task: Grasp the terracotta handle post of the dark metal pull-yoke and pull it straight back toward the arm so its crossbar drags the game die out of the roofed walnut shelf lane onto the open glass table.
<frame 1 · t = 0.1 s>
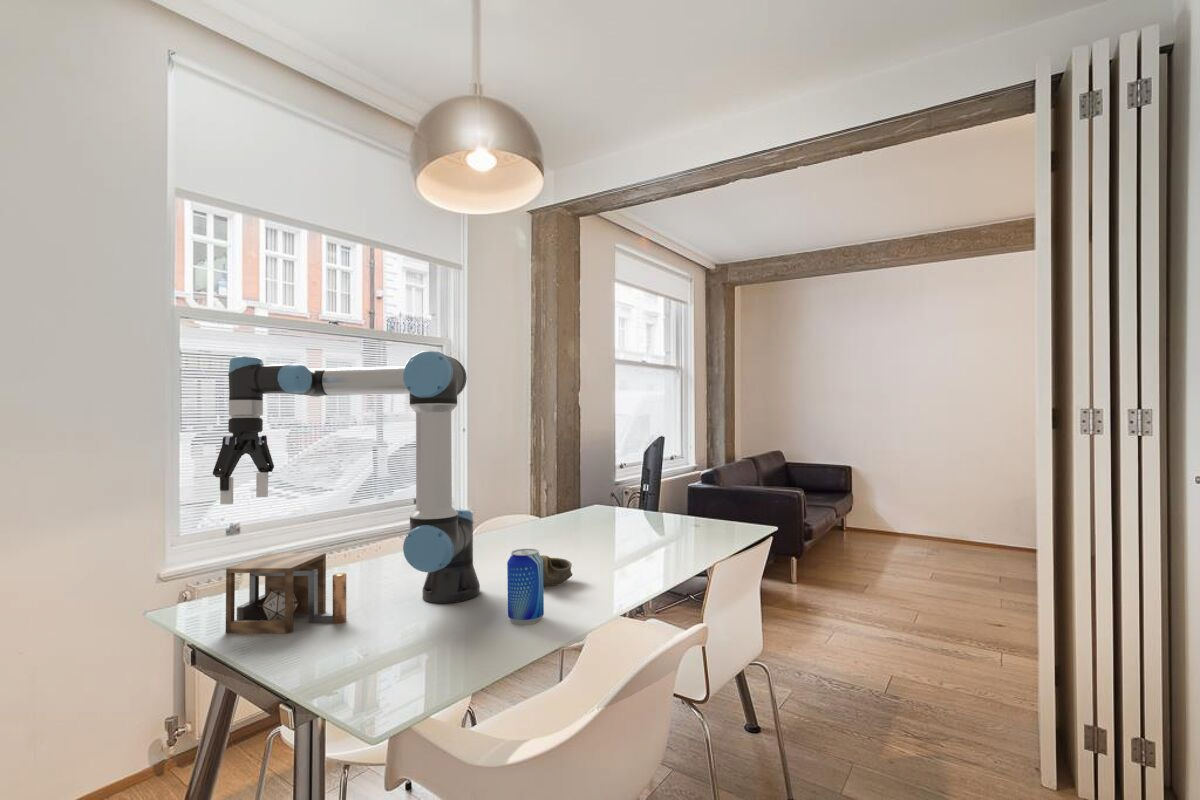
hand: (245, 500, 148), 28 cm above the table, fingers open, 13 cm apart
brown rounded hollow piece: (547, 586, 166), on the table
beer can: (525, 620, 137), on the table
shelf lane: (278, 621, 139), on the table
pull yoke: (339, 621, 138), on the table
game die: (280, 622, 139), on the table
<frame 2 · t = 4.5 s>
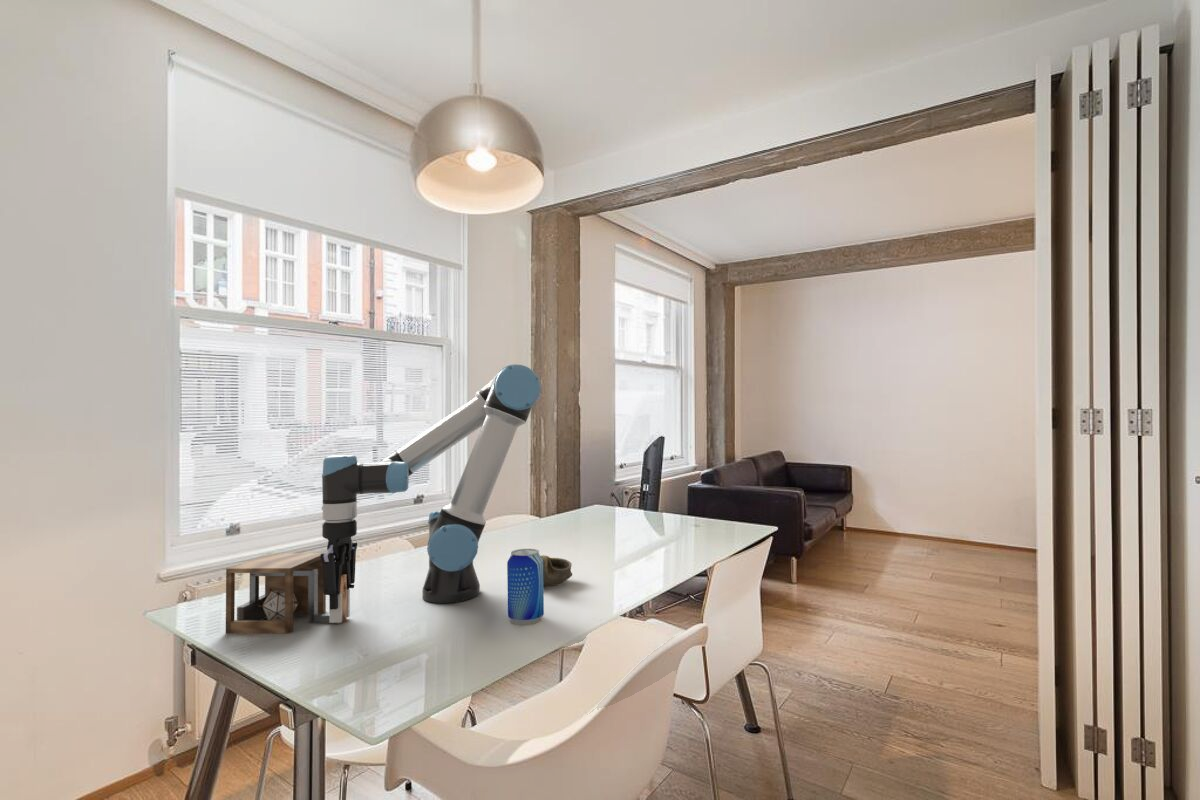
hand: (339, 619, 138), 1 cm above the table, fingers closed on pull yoke, 3 cm apart
pull yoke: (339, 621, 138), on the table, touching gripper
everything else where it was.
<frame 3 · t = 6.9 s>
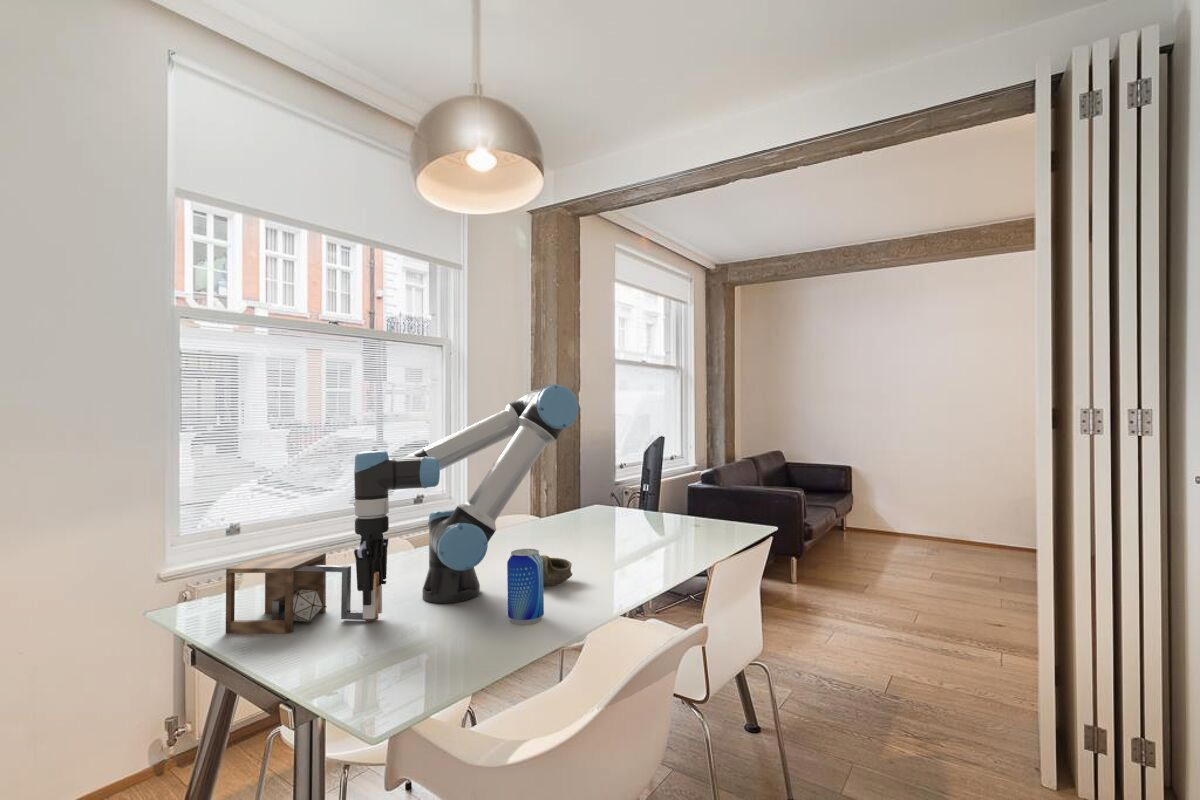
hand: (372, 615, 138), 1 cm above the table, fingers closed on pull yoke, 3 cm apart
pull yoke: (371, 619, 138), point 1 cm above the table, touching game die, gripper
game die: (303, 623, 138), on the table, touching pull yoke
everything else where it was.
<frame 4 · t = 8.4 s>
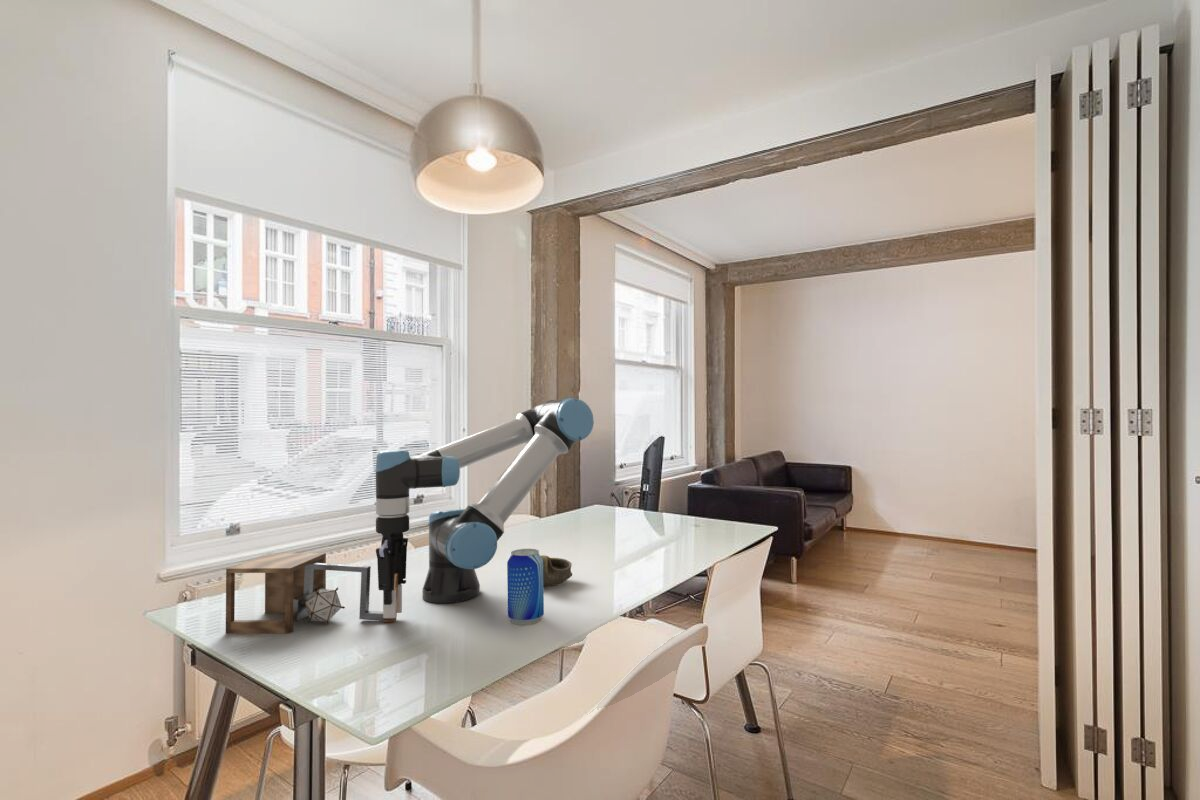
hand: (392, 614, 137), 2 cm above the table, fingers closed on pull yoke, 3 cm apart
pull yoke: (389, 620, 137), on the table, touching game die, gripper
game die: (321, 623, 137), on the table, touching pull yoke
everything else where it was.
when the fingers open (2 cm above the table, at t = 9.2 s): pull yoke stays where it is, on the table.
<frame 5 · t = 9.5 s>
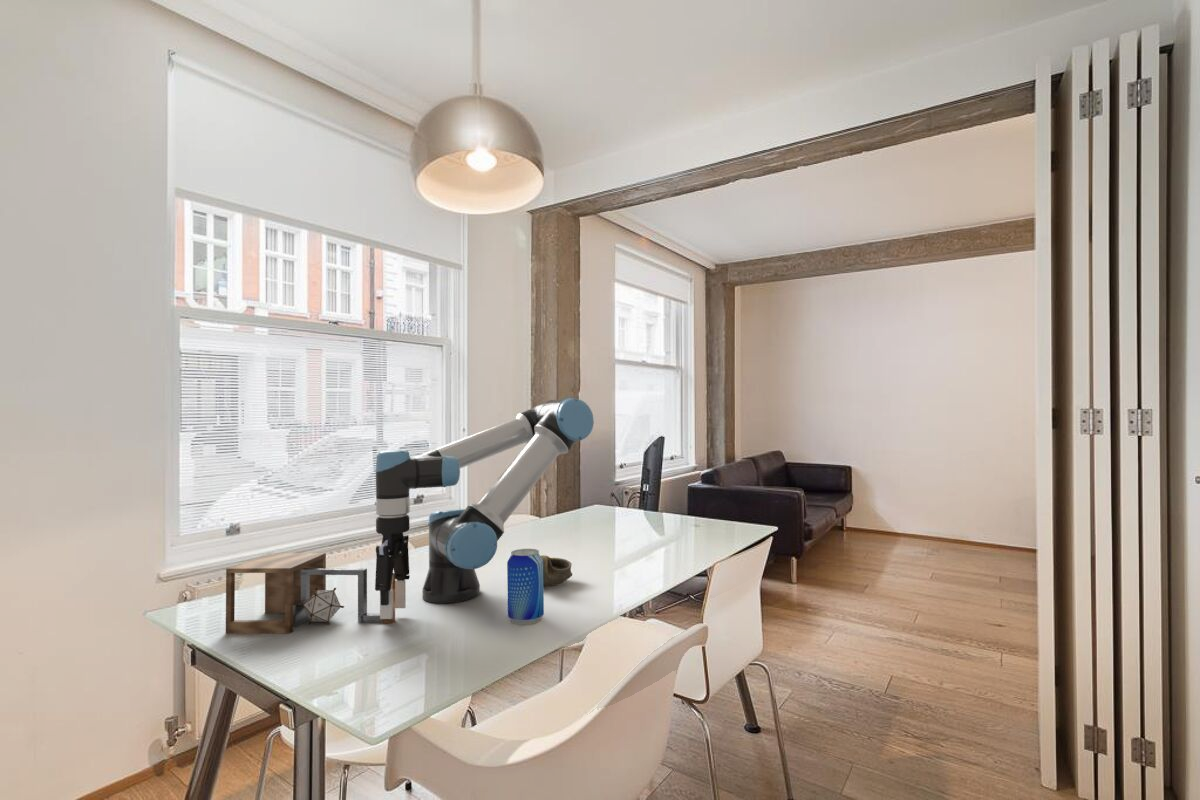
hand: (393, 612, 137), 2 cm above the table, fingers open, 7 cm apart
pull yoke: (388, 621, 137), on the table
game die: (322, 623, 137), on the table
everything else where it was.
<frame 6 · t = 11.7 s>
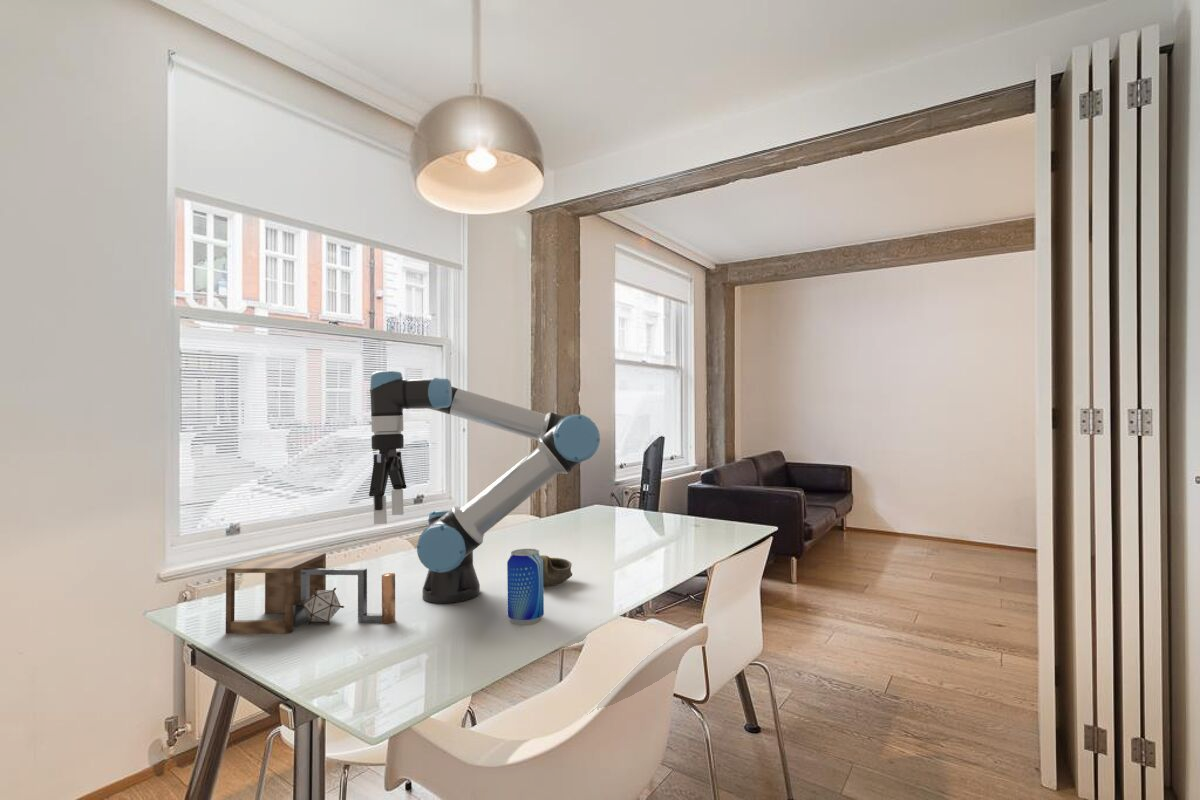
hand: (389, 519, 144), 23 cm above the table, fingers open, 13 cm apart
nothing on the table moved.
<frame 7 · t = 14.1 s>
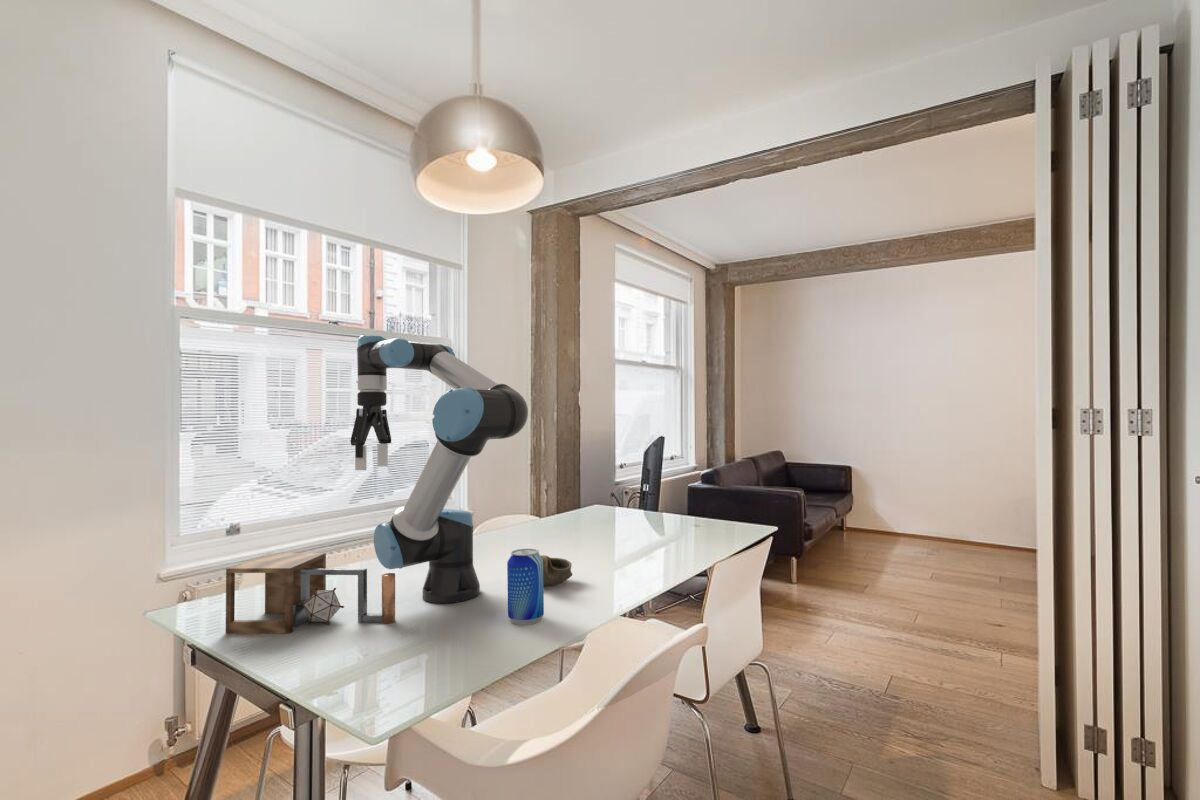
hand: (372, 468, 160), 35 cm above the table, fingers open, 13 cm apart
nothing on the table moved.
at the end: game die inside the target area (3.7 cm from its centre), on the table; game die moved 10.7 cm from its start; the gripper is holding nothing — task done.
